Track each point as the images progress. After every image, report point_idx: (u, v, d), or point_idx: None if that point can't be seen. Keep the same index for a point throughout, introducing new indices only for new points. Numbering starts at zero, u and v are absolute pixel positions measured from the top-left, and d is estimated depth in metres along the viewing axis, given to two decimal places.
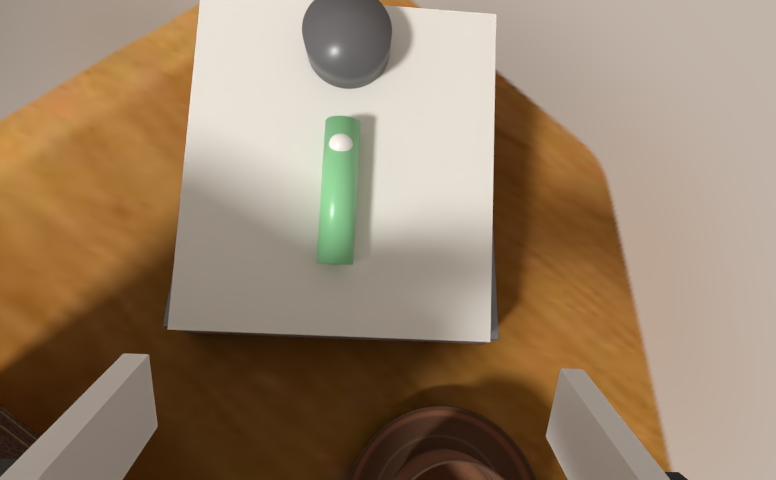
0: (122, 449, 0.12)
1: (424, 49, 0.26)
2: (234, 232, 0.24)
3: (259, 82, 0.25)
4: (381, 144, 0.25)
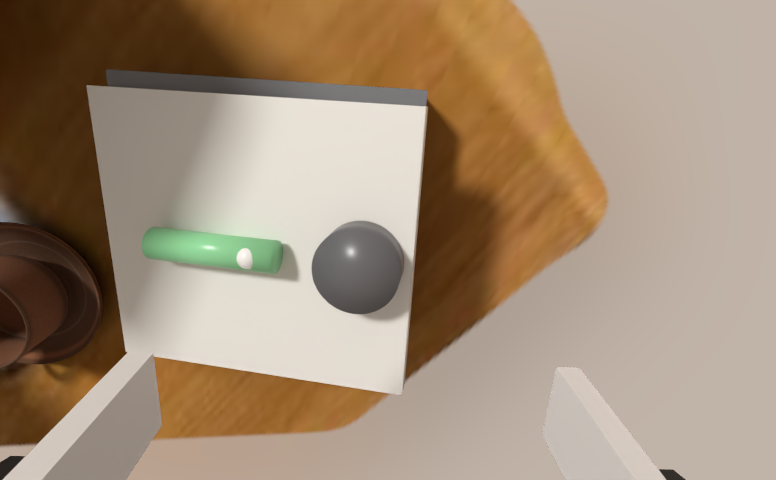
0: (127, 447, 0.12)
1: (365, 329, 0.27)
2: (177, 147, 0.25)
3: (324, 172, 0.24)
4: (271, 284, 0.27)
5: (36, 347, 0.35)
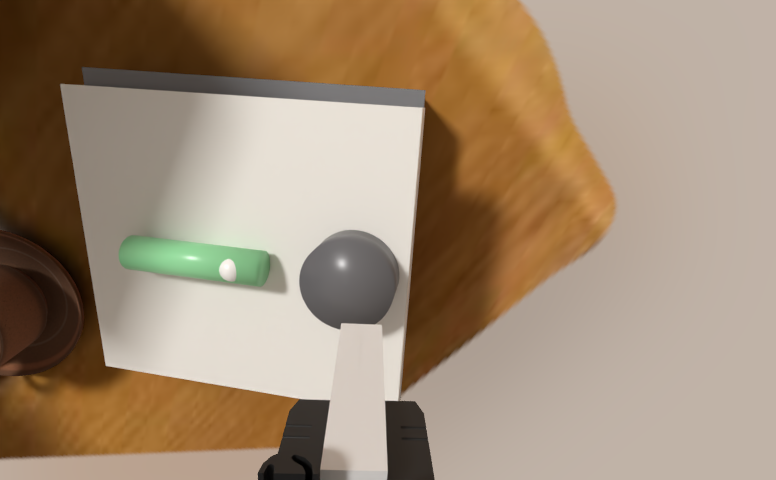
0: None
1: None
2: (157, 150, 0.23)
3: (313, 178, 0.22)
4: (258, 296, 0.25)
5: (15, 358, 0.34)
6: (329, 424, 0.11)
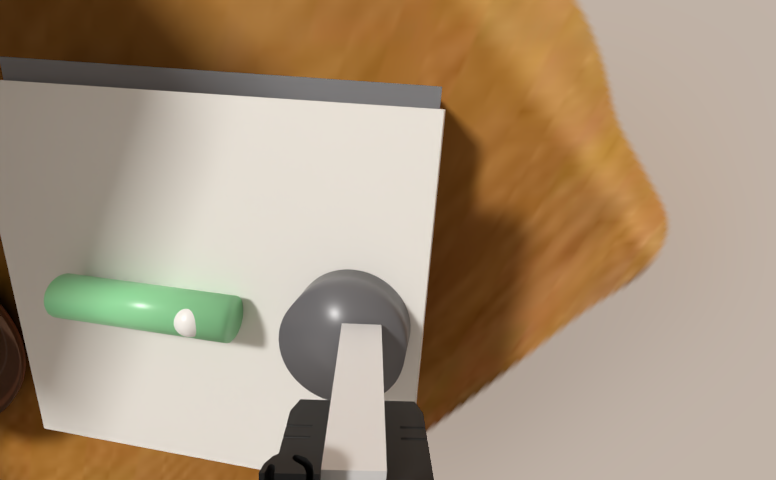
0: None
1: None
2: (94, 164, 0.18)
3: (297, 202, 0.17)
4: (228, 350, 0.20)
5: None
6: (330, 424, 0.11)
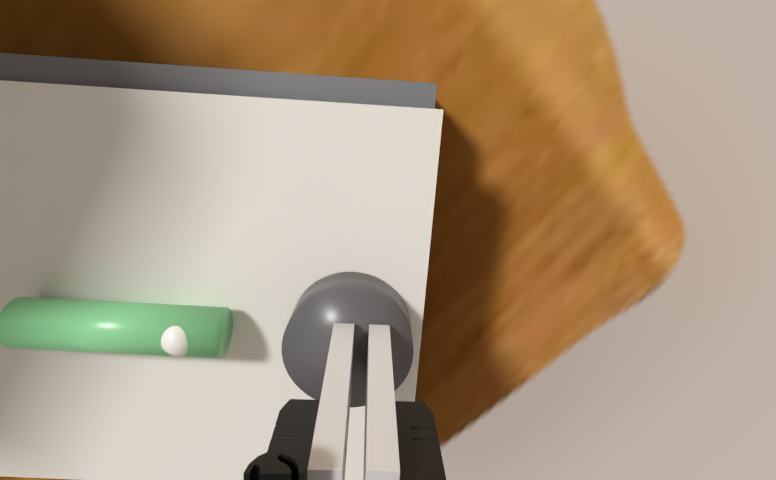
0: None
1: (355, 415, 0.19)
2: (51, 172, 0.16)
3: (292, 205, 0.16)
4: (216, 365, 0.19)
5: None
6: (318, 424, 0.11)
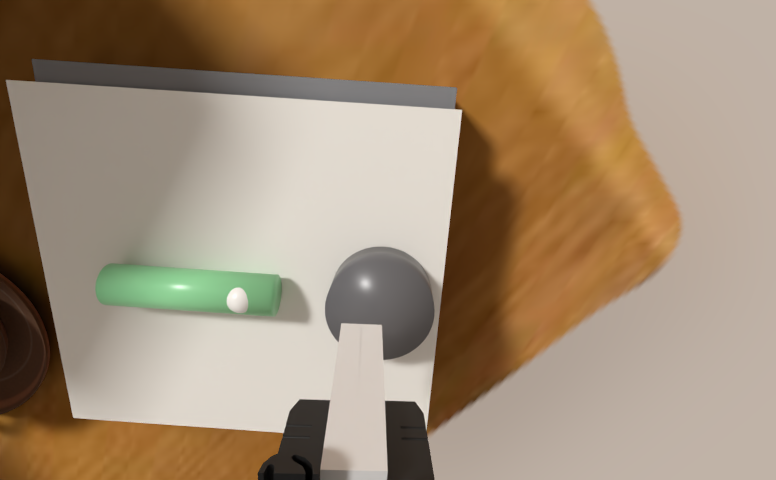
0: None
1: None
2: (140, 161, 0.19)
3: (334, 189, 0.20)
4: (266, 326, 0.22)
5: None
6: (329, 424, 0.11)
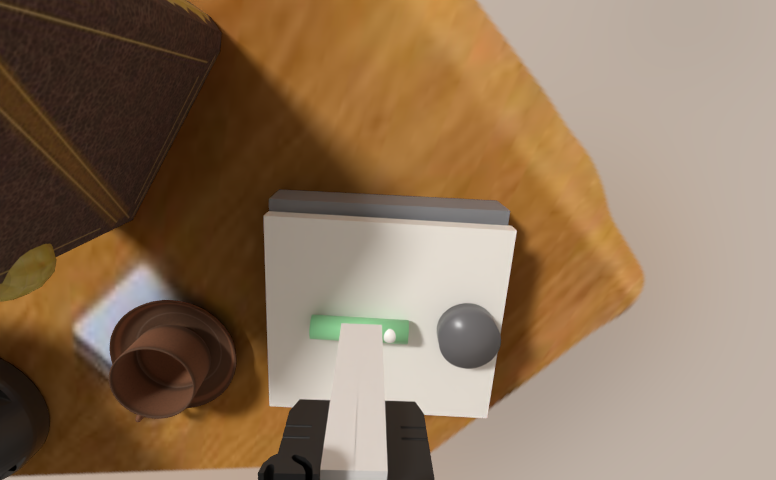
0: None
1: (463, 375, 0.38)
2: (333, 257, 0.34)
3: (443, 272, 0.35)
4: (396, 348, 0.37)
5: None
6: (329, 424, 0.11)
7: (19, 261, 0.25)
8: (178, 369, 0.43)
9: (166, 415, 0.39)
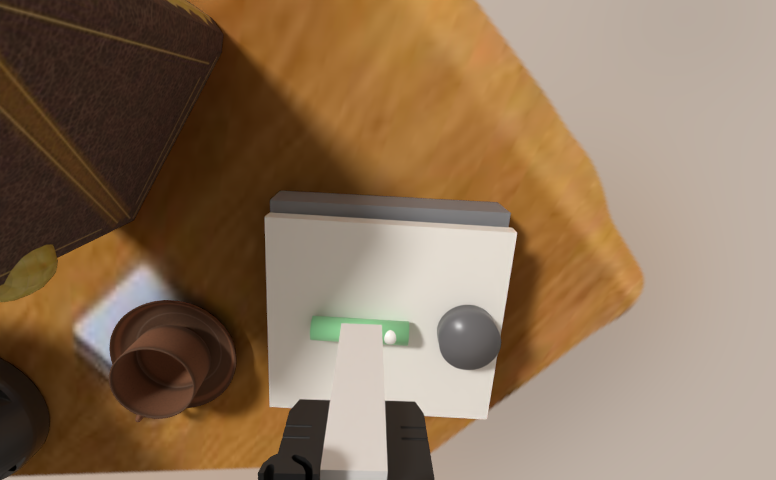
0: None
1: (464, 376, 0.38)
2: (334, 258, 0.34)
3: (443, 274, 0.35)
4: (396, 350, 0.37)
5: None
6: (329, 424, 0.11)
7: (21, 262, 0.25)
8: (178, 369, 0.43)
9: (166, 415, 0.39)
